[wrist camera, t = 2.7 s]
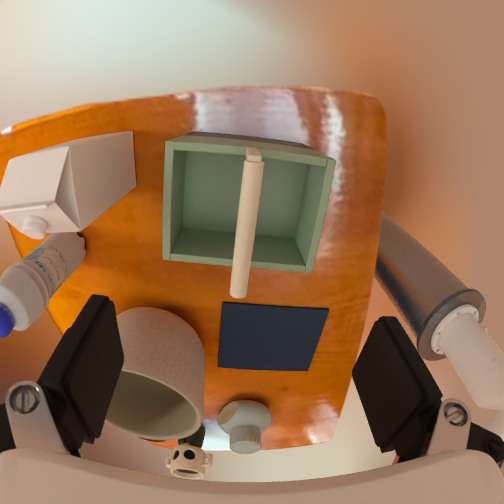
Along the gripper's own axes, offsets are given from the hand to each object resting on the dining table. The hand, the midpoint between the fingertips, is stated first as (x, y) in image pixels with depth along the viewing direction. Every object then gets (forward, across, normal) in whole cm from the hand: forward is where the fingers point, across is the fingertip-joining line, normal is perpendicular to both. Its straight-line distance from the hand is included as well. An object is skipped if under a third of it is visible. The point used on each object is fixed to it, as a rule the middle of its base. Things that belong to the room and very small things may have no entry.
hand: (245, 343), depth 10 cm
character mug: (+28, +6, +55) cm, 62 cm away
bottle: (+28, +24, +11) cm, 38 cm away
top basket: (+21, 0, 0) cm, 21 cm away
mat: (+27, -7, +25) cm, 38 cm away
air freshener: (+28, -5, +45) cm, 53 cm away
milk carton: (+28, +17, -1) cm, 32 cm away
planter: (+28, +11, +26) cm, 40 cm away
